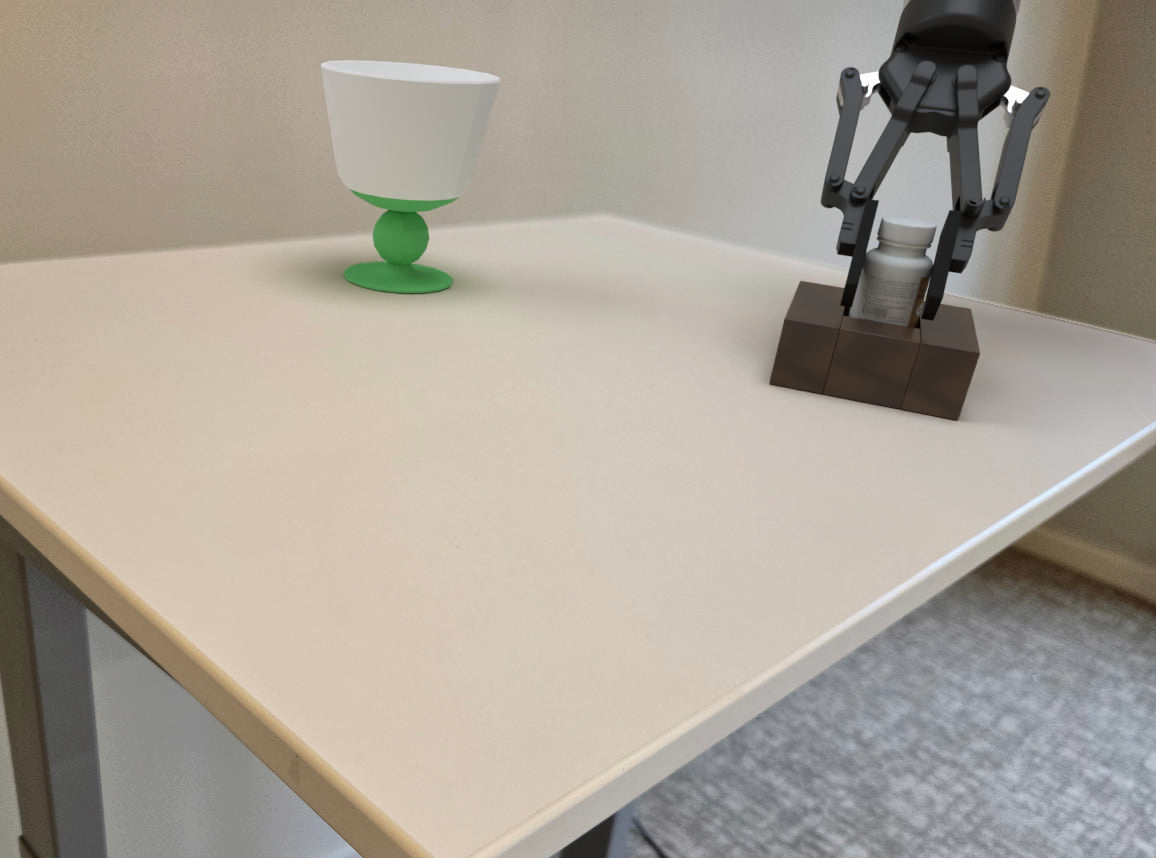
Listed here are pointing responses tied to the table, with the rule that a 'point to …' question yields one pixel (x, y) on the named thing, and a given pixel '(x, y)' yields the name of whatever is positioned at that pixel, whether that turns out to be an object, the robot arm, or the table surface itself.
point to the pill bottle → (895, 272)
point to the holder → (876, 354)
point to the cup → (405, 154)
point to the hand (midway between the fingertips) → (890, 301)
